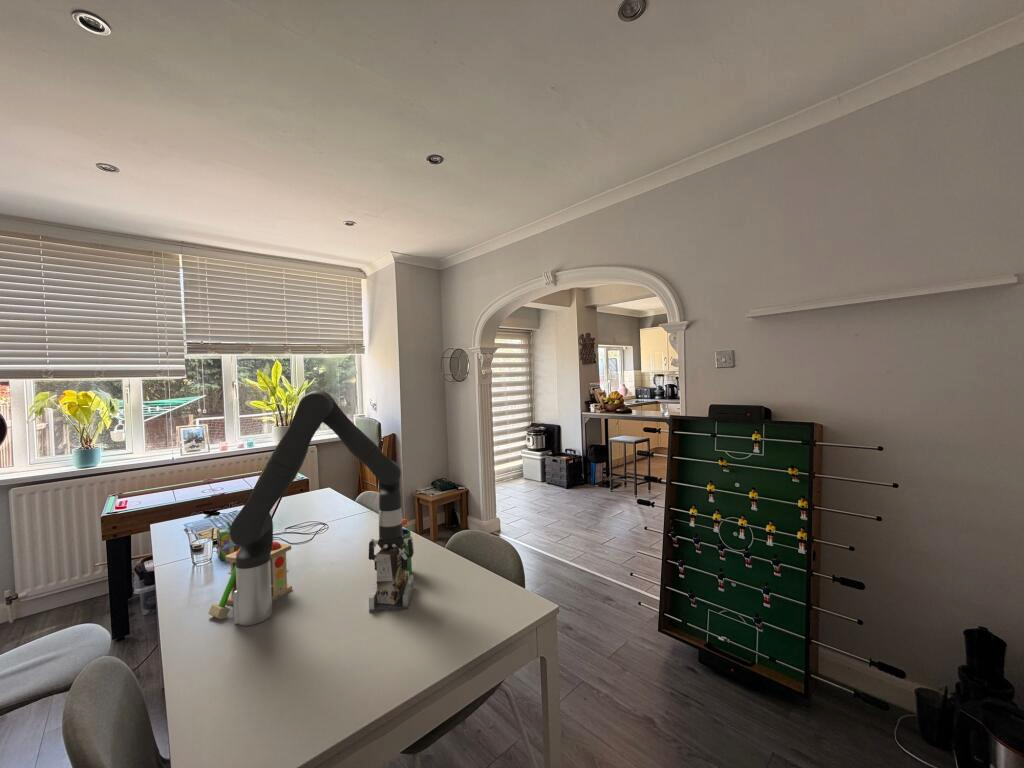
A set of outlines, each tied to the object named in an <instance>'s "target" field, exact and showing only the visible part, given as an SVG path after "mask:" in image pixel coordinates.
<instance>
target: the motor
mask: <svg viewBox="0 0 1024 768" xmlns="http://www.w3.org/2000/svg"><path fill="white" fill-rule="evenodd" d="M407 525H408V518H407V519H406V518H403V520H402V531H403V538H404V539H407V538H409V537H412V536H411V530H410V529H408V528H403V527H404V526H407ZM403 544H405V551H406V552H407V553H409V550H408V546H407V545H406V543H403ZM412 563H413V562H412V557H410V558H408V567H407V569H406V571H409V575H413V574H412V573H413V565H412Z"/></svg>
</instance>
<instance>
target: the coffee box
mask: <svg viewBox="0 0 1024 768" xmlns="http://www.w3.org/2000/svg"><path fill="white" fill-rule="evenodd" d="M403 548H404V549H405V544H403V545H402V546H401V548H400V549H401V550H402V549H403ZM399 552H400V551H399V550H395V549H390V550H385V551H380V550H379V551H378V552H377V553H376V554H375V555H376V560H377V571H376V582H377V603H383V604H395V603H396V602H397V601H398V600H399V599H400V598H401V596H402V595H403V593H404V590H405V587H406V571H403V559H404V558H403V557H402V556H401V555H400V553H399Z"/></svg>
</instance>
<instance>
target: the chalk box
mask: <svg viewBox="0 0 1024 768" xmlns="http://www.w3.org/2000/svg"><path fill="white" fill-rule="evenodd" d="M226 524H227V526H225V527H222V528H217V529H216V543H217V544H216V545H217V557H218V558H219V560H220V561H221V562H224V561H226V559H225V556H227V555H229V554H231V553H234V552H236V551H238V550H239V549H240V548H241V546H239V545H236V544H235V543H233V541H232V540H231V538H230V527H231V523H230V522H229V521H228V520H226Z"/></svg>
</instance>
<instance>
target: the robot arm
mask: <svg viewBox="0 0 1024 768" xmlns="http://www.w3.org/2000/svg"><path fill="white" fill-rule="evenodd" d="M322 424H324V425H325V426H327V427H328V428H329V429H331V431H333V432H334V433H335V434H336V436H337V438H339V439H340V441H341V442H342V444H343V445H344V446H345V447H346V449H347V450H348V451H349V452H350V453H351V454H352V455H353V456H354V457H355V458H356V459H357V460H358V461H359V462H360V463H362V464H363V465H364V466H366V467H367V468H368V470H369V471H370V472H371V473H372V474H373V475H374V476H375V477H376V479H377V480H378V487H379V494H378V495H379V497H378V540H375V539H374V538H372V539H370V541H369V543H368V560H370V561H371V560H372V561H374V571H376V572H377V560H376V554H375V548H376V546H378V547H379V548H380V549H379V551H385V550H390V549H395V550H399V551H400V552H399V553H400V555H401V556H402V557H403V558H404V559H403V571H406V569H407V567H408V558H410V557H411V558H413V556H414V553H415V552H414V541H413V537H412V536H411V537H409V538H407V539H404V538H403V531H402V528H403V527H402V520H403V519H404V518H403V511H402V496H401V491H400V490H401V489H400V479H401V474H402V473H401V468H400V465H399V464H398V463H397V461H394V460H391V459H390V458H389V457H388V456H387V455H385V453H384V452H383V451H382V449H381V448H380V447H379V446H378V445H377V444H376V443H375V442H374V441H373V440H372V439H371V438H369V437H368V436H367V434H365V433H364V432H363V431H362V430H361V429H360V428H359V427H358V426H357V425H356V424H354V422H352V421H351V420H350V418H349V417H348V416H347V415H346V414H345V413H344V412H343V410H342V409H341V408H340V406H339V405H338V404H337V402H336V401H335V399H333V397H332V396H331V395H330V394H329V392H327V391H324V390H320V389H319V390H312V391H310V392H308V393H306V394H305V395H303V396H302V397H301V399H300V401H299V402H298V405H297V407H296V410H295V412H294V416H293V418H292V420H291V423H290V425H289V427H288V428H287V431H286V432H285V434H283V436H282V438H281V439H280V440H279V442H278V443H277V445H276V446H275V449H274V450H273V452H272V453H271V455H270V457H269V459H268V460H267V462H266V464H265V466H264V467H263V470H262V472H261V474H260V476H259V478H258V480H257V482H256V483H255V486H254V487H253V490H252V492H251V494H250V496H249V497H248V499H247V501H246V502H245V504H244V505H243V506H242V508H241V510H240V511H239V512H238V514H237V515H236V517H235V518H234V520H233V521H232V523H230V525H231V527H230V538H231V540H232V541H233V543H235V544H236V545H239V546H241V548H240V551H239V553H238V555H237V556H236V591H235V592H234V593H233V600H234V606H233V624H234V625H236V624H237V625H240V626H243V627H244V626H247V627H248V626H252V625H253V626H254V625H256V624H260V623H263V622H264V621H266V620H267V619H269V618H270V617H271V616H272V614H273V605H272V604H273V601H272V593H271V562H270V554H271V551H272V546H273V542H274V524H273V523H274V521H273V518H272V515H271V511H272V509H273V507H274V506H275V504H276V503H277V502H278V501H279V500H280V499H281V497H282V496H283V494H285V493H286V491H287V490H288V488H289V487H290V486H291V485H292V483H294V480H295V479H296V477H297V476H298V473H299V471H300V470H301V468H302V466H303V464H304V462H305V459H306V457H307V454H308V450H309V448H310V444H311V441H312V439H313V437H314V436H315V434H316V432H317V431H318V429H319V428H320V426H321V425H322ZM403 543H406V545H407V546H408V550H409V553H407V552H406V551H405V549H404V548H403V549H402V550H401V549H400V548H401V546H402V545H403Z"/></svg>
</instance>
